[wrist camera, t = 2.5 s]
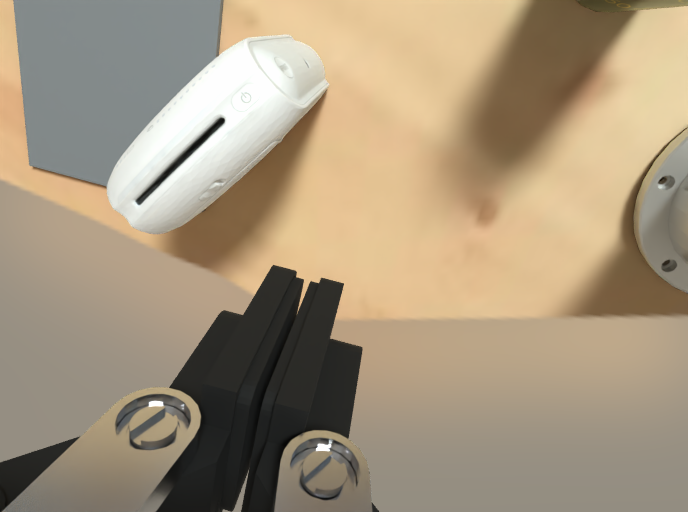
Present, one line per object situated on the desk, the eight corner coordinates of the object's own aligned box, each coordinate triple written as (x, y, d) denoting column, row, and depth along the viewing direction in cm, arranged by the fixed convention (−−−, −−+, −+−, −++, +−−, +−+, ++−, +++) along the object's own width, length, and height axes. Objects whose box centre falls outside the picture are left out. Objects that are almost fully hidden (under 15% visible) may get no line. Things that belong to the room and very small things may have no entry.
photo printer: (294, 20, 27) (227, 20, 16) (342, 81, 28) (310, 119, 17) (181, 133, 31) (62, 197, 20) (227, 183, 32) (141, 268, 21)
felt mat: (227, -50, 26) (225, -51, 26) (204, 210, 33) (202, 212, 33) (8, -105, 26) (3, -107, 26) (33, 164, 34) (29, 165, 33)
